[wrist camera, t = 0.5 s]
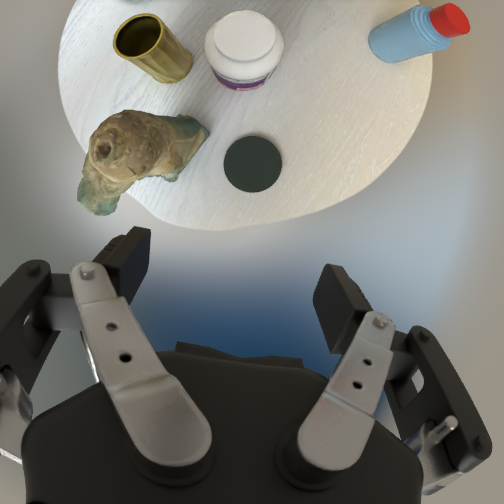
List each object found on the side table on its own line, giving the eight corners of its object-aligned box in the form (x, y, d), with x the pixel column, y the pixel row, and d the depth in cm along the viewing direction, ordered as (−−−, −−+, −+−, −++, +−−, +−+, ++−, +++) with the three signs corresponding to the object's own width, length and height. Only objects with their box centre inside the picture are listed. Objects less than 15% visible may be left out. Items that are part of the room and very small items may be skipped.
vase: (196, 46, 30) (175, 8, 17) (188, 85, 32) (160, 63, 19) (155, 45, 29) (117, 12, 16) (147, 83, 32) (102, 65, 19)
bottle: (370, 21, 28) (433, -16, 12) (404, 38, 29) (474, 15, 13) (365, 52, 30) (432, 23, 15) (400, 69, 31) (474, 55, 16)
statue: (146, 158, 36) (35, 207, 14) (175, 107, 34) (81, 84, 11) (185, 181, 38) (114, 259, 16) (217, 131, 35) (177, 133, 13)
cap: (429, 3, 15) (444, -4, 12) (454, 20, 16) (469, 15, 13) (428, 26, 17) (444, 20, 14) (453, 43, 17) (470, 40, 14)
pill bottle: (239, 31, 29) (240, -14, 16) (284, 64, 32) (308, 32, 18) (201, 71, 31) (180, 41, 18) (246, 104, 34) (249, 89, 21)
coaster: (230, 131, 36) (230, 131, 35) (287, 143, 37) (287, 143, 36) (219, 185, 39) (218, 186, 38) (273, 196, 40) (274, 197, 39)
